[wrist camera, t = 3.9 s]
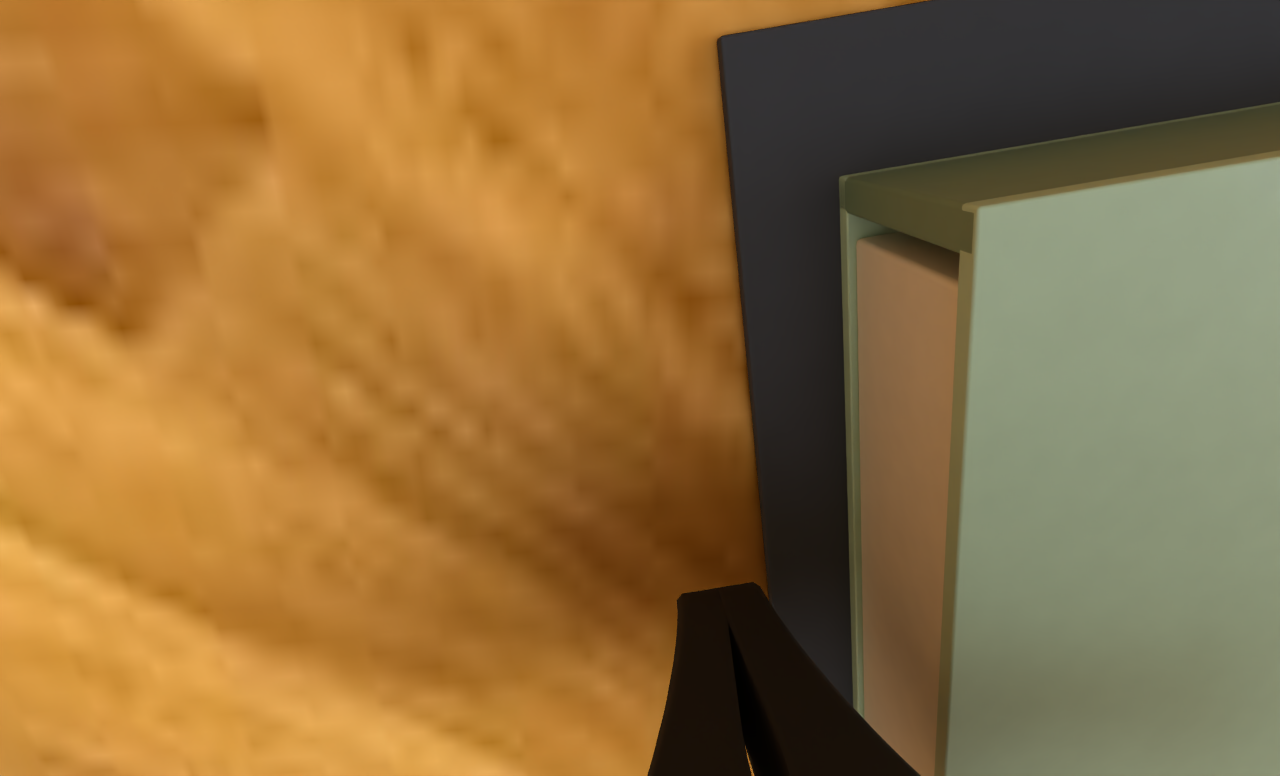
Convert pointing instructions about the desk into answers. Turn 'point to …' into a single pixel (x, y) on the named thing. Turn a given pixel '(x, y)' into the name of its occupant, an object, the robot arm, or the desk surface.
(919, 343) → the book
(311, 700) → the desk surface
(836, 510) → the desk pad
